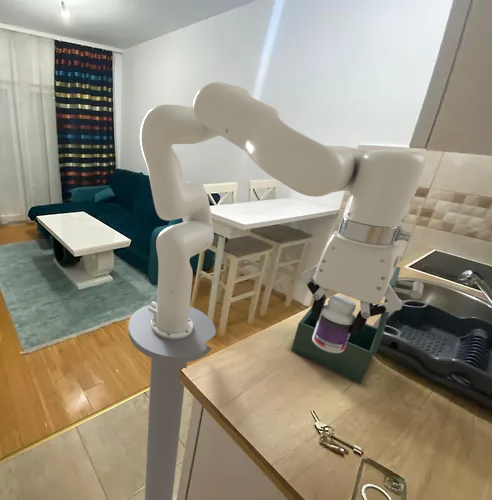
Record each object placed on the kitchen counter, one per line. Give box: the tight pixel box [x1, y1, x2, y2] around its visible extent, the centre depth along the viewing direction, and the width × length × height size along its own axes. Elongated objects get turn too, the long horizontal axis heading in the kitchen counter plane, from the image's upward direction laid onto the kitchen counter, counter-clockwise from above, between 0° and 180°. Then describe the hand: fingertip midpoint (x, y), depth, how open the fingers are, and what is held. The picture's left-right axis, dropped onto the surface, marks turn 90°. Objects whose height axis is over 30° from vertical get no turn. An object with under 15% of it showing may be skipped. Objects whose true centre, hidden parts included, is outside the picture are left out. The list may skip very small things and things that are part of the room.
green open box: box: [290, 306, 378, 385], centre depth 75 cm, size 16×13×9 cm
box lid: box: [372, 266, 424, 354], centre depth 64 cm, size 16×13×5 cm
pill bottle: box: [312, 294, 357, 353], centre depth 53 cm, size 5×5×10 cm
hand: (334, 323), depth 53 cm, fingers closed on pill bottle, 5 cm apart
